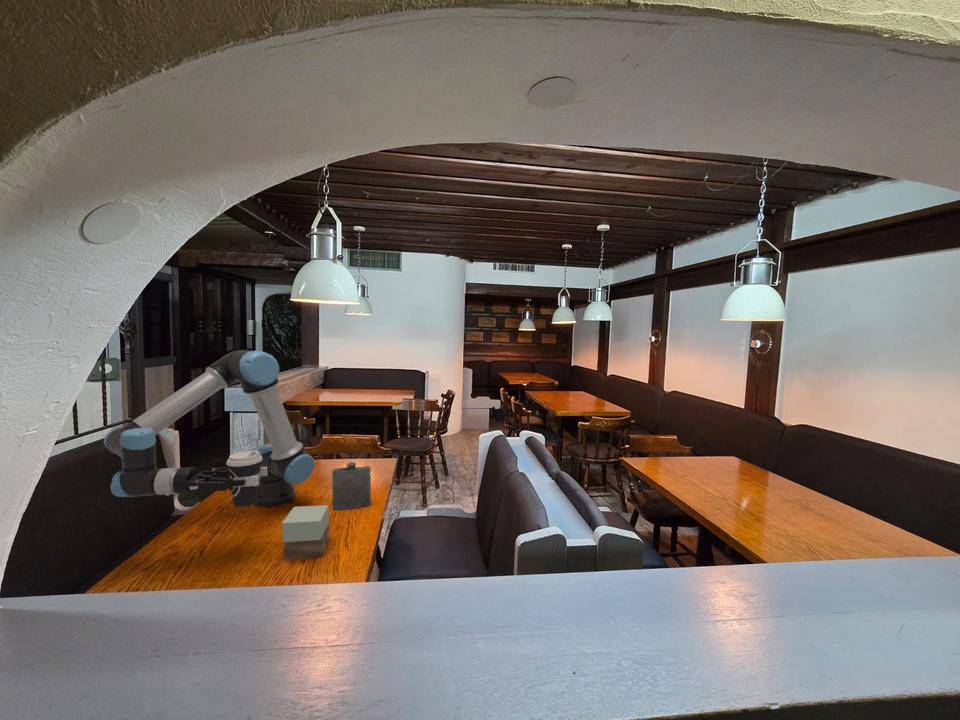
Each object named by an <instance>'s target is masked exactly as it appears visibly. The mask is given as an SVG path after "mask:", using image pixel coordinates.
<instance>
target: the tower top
mask: <svg viewBox="0 0 960 720" xmlns="http://www.w3.org/2000/svg"><path fill="white" fill-rule="evenodd" d="M329 508H330V506H329V504H328V505H325V504H324V505H307V506H306V505H305V506H304V505H301V506H293V508H292V509H291V510H290V511H289V513H288V514H287V515H286V517H285V519H284V520H283V521H282V522H281V525H282V526H281V528H282V532H281V533H282V534H281V535H282V537H281V538H282V543H284V542H295V541H311V540H321V538H322V536H323V534H324V532H325V530H326V527H327V525H328V523H329V522H330V517H329V516H330V510H329ZM329 524H330V523H329Z"/></svg>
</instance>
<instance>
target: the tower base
mask: <svg viewBox="0 0 960 720" xmlns="http://www.w3.org/2000/svg"><path fill="white" fill-rule="evenodd" d="M329 524H330V523H328V525H327V527H326V530H325V532H324V534H323V536H322V538H321V540H311V541H295V542H283V544H284V546H283V547H284V553H283V554H284V555H283V556H284V561H285V560H286V561H294V559H295V561H296V560H304V559H305V558H306V559H315V558H324V556H325V555H324V554H325V552H326V548H327V545H328V542H329V540H330V538H329V537H330V535H329V534H330V531H329V529H330V527H329V526H330V525H329Z"/></svg>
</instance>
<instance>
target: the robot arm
mask: <svg viewBox="0 0 960 720" xmlns="http://www.w3.org/2000/svg"><path fill="white" fill-rule="evenodd" d="M279 365H280V364H279V363H278V361H277V359H276V358H275V357H274V356H273V355H272V354H270V353H267V352H265V351H261V350H247V349H238V350H233V351H231V352H229V353H227V354H225V355H224V356H222V357H221V358H220V359H218V360H216V361H214V362H213V363H212V364H210V365H208V366H207V367H206V368H205V372H203V373H202V374H201V375H199V376H198V377H196V378H195V379H193V380H192V381H190V382H189V383H187V384H186V385H185V386H184V385H183V386H182V387H181V388H179V389H178V390H177V391H175V392H174V393H172V394H171V395H169V396H168V397H165V399H162V401H160V402H159V403H158V404H156V405H154V406H153V407H151V408H149V409H148V410H147V411H146V412H144V413H142V414H141V415H139V416H138V417H136V418H135V419H133V420H132V421H130V422H128V423H127V424H125V425H124V426H121V427H116V428H114V429H112V430H109V431H108V432H107V433H106V435H104V439H103V444H104V446H105V448H106V449H107V450H108V451H109V452H110V453H112V454H116V455H117V456H118V457H120V458H121V470H119V471H118V472H116V473H115V474H114V475H113V476H112V478H111V484H110V492H111V494H112V495H114V496H115V497H118V498H119V497H120V498H136V497H138V498H139V497H148V496H149V497H150V496H162V495H165V496H167V497H169V496H170V495H175V494H177V495H181V494H182V495H183V494H185V495H186V494H191V493H197V492H227V491H229V492H232V490H233V486H234V487H245V486H258V485H259V494H258V501H257V502H256V503H254V505H256V506H259V507H274V506H278V505H282V504H285V503H287V502H290V501H292V500H293V499H295V496H296V490H295V486H294V485H300V484H302V483H304V482H306V481H307V480H308V479H309V478H310V476H312V474H313V471H314V470H315V459H314V458H313V457H312V456H311V455H310V454H309V453H308V454H307V453H306V450H305V447H304V444H303V443H302V442H300V441H297V439H296V436H295V434H294V431H293V428H292V426H291V422H290V420H289V418H288V415H287V412H286V410H285V406H284V405H283V402H282V399H281V397H280V394H279V391H278V388H277V386H278V385H279V382H280V381H279V379H278V377H279V373H280V366H279ZM236 383H239V384H240V387H241V389H242V392H243V393H244V394H246V395H248V396H250V399H251V400H252V403H253V406H254V407H255V409H256V412H257V414H258V417H259V419H260V420H259V421H260V422H261V424H262V427H263V429H264V432H265V434H266V437H267V439H268V442H269V443H266V444H262V445H261V446H259V447H258V449H257V451H258V452H259V453H260V455H261V456H262V458H263V460H262V461H261V467H260V480H259V476H249V477H234V478H233V479H234V480H233V479H230V474H229V467H228V466H225V467H224V466H223V467H210V468H209V470H203V471H202V472H200V471H198V469H197V468H196V467H195V466H189V467H188V466H187V467H186V466H185V467H183V466H182V467H167V468H166V467H165V468H157V455H156V454H157V451H156V450H157V446H156V445H157V444H156V443H157V438H156V436H157V435H158V434H159V433H161V432H162V431H164V430H165V429H166V428H168V427H169V426H171V425H172V424H173V423H174V422H176V421H177V420H179V419H180V418H182V417H183V416H185V415H186V414H188V412H190V411H191V410H193V409H195V408H196V407H197V406H199V405H200V404H201V403H203V402H204V401H206V400H207V399H208V398H210V397H211V396H212V395H214V394H215V393H217V392H218V391H220V390H221V389H228V388H229V387H230V386H232V385H234V384H236ZM291 499H292V500H291Z"/></svg>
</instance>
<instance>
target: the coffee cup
mask: <svg viewBox="0 0 960 720" xmlns="http://www.w3.org/2000/svg"><path fill="white" fill-rule="evenodd" d="M262 460H263V458H262V456H261V455H260V453H259V452H258V450H245V451H244V450H243V451H238V452H234V453H231V454H230V455H229V457H228V459H227V460H226V463H225V464H226V466H227V467H229V474H230V478H229V479H233V478H234V477H249V476H259V480H260V467H261V461H262ZM233 480H234V479H233ZM258 494H259V485H258V486H245V487H234V486H233V490H232V491H231V495H232V503H233V506H234V507H239V508H242V507H248V506H252V505H255V503H256V502H257V501H258Z"/></svg>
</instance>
